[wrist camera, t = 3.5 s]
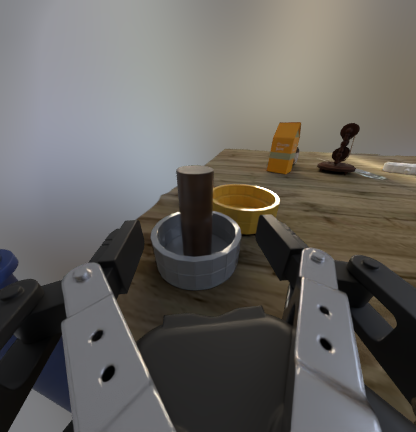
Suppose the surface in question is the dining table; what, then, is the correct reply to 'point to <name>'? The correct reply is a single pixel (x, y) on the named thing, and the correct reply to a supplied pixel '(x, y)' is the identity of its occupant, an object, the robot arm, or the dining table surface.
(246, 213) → the bowl
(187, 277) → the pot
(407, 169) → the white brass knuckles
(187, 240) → the brown cylinder
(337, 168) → the brown wooden sculpture
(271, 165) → the orange juice
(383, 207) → the dining table surface
